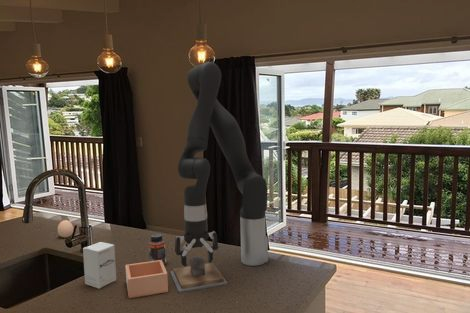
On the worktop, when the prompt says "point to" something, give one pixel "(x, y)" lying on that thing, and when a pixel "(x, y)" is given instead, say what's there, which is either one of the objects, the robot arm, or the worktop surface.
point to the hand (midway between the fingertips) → (197, 264)
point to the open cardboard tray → (146, 278)
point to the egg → (65, 228)
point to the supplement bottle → (157, 248)
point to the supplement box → (99, 264)
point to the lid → (197, 274)
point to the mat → (196, 286)
